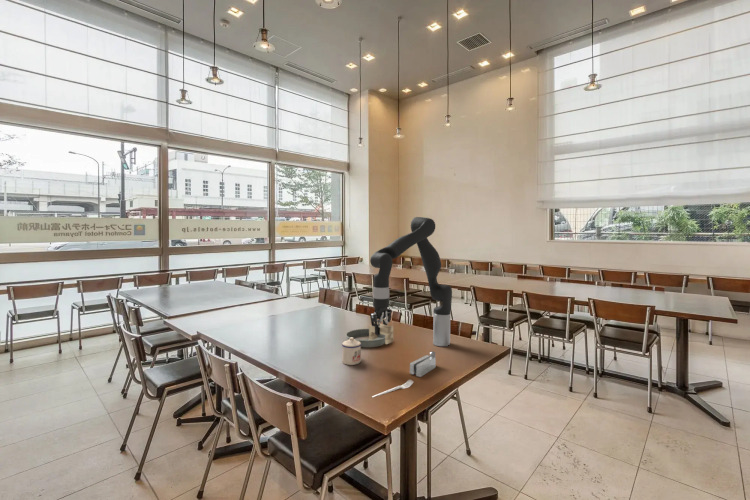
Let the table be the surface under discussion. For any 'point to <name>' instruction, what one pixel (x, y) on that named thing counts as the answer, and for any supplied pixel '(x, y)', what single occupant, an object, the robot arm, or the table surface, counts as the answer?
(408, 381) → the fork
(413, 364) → the moving jaw
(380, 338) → the cake pan
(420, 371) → the fixed jaw
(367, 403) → the table surface
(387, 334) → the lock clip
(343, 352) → the teacup with lid
